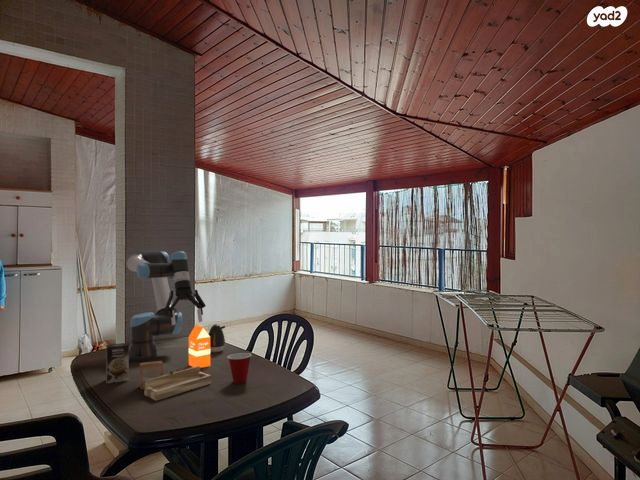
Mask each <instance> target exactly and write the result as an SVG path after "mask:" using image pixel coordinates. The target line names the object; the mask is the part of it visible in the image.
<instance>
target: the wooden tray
mask: <svg viewBox="0 0 640 480" xmlns="http://www.w3.org/2000/svg"><path fill="white" fill-rule="evenodd" d="M169 372H170V373H166V374H163V376H159V377H155V378H152V379H148V380H144V389H143V390H144V396H146V397H148V398H150V399H152V400H153V401H160V400H162V399H167V398H170V397H172V396H177V395H179V394H181V393H185V392H188V391H191V389H192V390H195V389H198V388H201V387H204V386H207V385H211V384H212V375H211V374H208V373H205V372H202V371H201V368H200V366H196V367H192V366H191V367H189V368H186V369H185V368H184V369H182V370H178V371H173V370H170V371H169Z"/></svg>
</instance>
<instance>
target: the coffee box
mask: <svg viewBox="0 0 640 480" xmlns="http://www.w3.org/2000/svg"><path fill="white" fill-rule="evenodd" d="M129 347H130V344H129V343H128V342H121V343H111V344H110V343H109V344H106V368H105V369H106V372H105V373H106V374H105V375H106V384H107V383H108V384H113V382H115V383H121V381H122V382H128V381H130V380H129V379H130V378H129V377H130V376H129V373H130V372H129V369H130V368H129V367H130V366H129V365H130V364H129V362H130V360H129Z"/></svg>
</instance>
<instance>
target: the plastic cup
mask: <svg viewBox="0 0 640 480" xmlns="http://www.w3.org/2000/svg"><path fill="white" fill-rule="evenodd" d="M226 357H227V359H228V362H229V365H230V371H231V377H232V381H233V383H234V384H244V383H246V382H247V379H248V374H249V373H248V372H249V367H250V361H251V357H252V353H250V352H238V353H231V354H229V355H227V356H226Z"/></svg>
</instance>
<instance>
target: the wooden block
mask: <svg viewBox="0 0 640 480" xmlns="http://www.w3.org/2000/svg"><path fill="white" fill-rule="evenodd" d="M163 375H164V363H163V360H157V361H148V362H141V363H140V362H139V388H140V389H141V390H140V391H142V389H143V390H144V380H148V379H152V378H155V377H159V376H163Z"/></svg>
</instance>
